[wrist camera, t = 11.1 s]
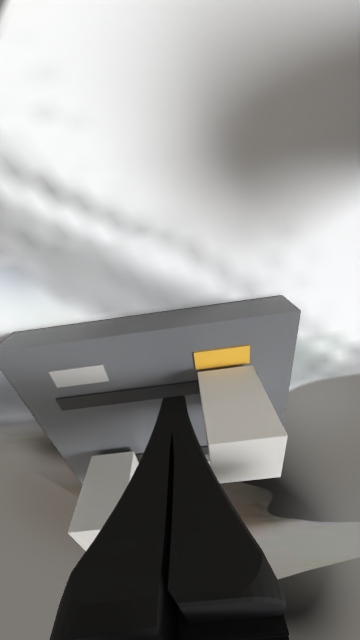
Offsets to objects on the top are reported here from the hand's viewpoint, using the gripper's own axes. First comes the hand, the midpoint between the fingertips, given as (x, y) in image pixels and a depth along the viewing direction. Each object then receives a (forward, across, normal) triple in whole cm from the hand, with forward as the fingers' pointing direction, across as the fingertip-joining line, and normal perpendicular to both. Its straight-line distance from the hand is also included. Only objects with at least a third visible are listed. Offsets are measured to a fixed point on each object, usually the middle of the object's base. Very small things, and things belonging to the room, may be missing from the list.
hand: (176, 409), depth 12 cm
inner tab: (+1, +5, +7) cm, 8 cm away
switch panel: (+3, +1, +3) cm, 5 cm away
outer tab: (+1, -3, 0) cm, 3 cm away
